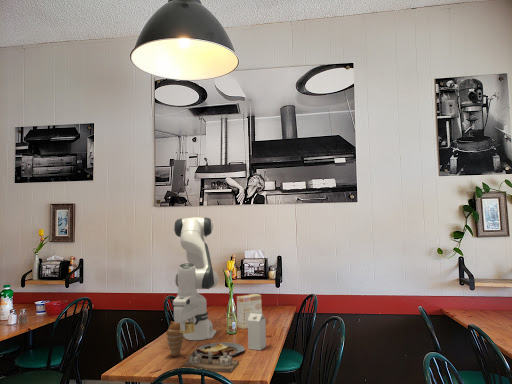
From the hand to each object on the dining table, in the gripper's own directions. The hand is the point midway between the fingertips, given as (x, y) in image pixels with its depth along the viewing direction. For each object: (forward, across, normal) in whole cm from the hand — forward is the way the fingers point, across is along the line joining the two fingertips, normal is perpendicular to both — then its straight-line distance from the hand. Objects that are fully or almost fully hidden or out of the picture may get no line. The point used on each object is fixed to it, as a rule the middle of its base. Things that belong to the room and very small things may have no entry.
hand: (187, 328), depth 200 cm
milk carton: (+17, -34, +24) cm, 45 cm away
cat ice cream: (+18, -12, -13) cm, 25 cm away
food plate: (+18, -22, +7) cm, 30 cm away
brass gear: (+2, 0, 0) cm, 2 cm away
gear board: (+17, -2, +11) cm, 20 cm away
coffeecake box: (+17, -78, +6) cm, 81 cm away
